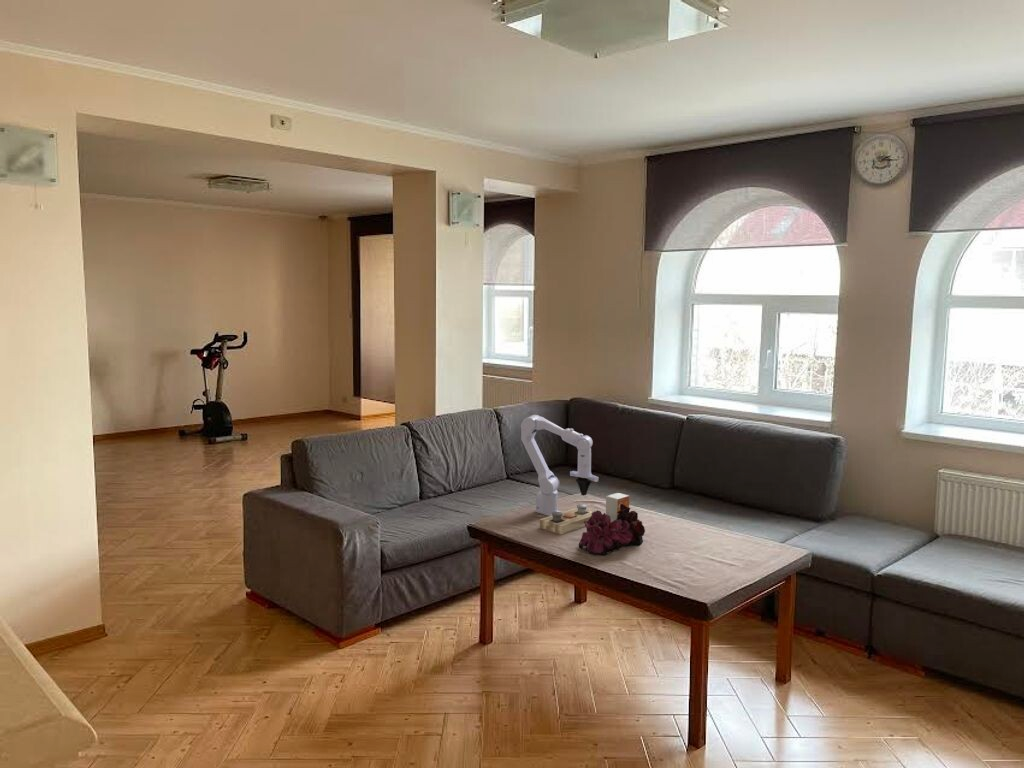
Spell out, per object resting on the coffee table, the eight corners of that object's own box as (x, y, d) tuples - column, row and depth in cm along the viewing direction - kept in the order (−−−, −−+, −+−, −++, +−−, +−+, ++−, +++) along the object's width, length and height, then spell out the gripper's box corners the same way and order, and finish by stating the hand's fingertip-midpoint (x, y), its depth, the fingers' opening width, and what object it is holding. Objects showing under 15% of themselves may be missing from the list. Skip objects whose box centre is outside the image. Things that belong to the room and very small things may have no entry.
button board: (539, 527, 308) (539, 519, 307) (577, 515, 324) (577, 507, 324) (561, 534, 299) (561, 526, 299) (598, 521, 316) (598, 513, 315)
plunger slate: (574, 513, 317) (574, 505, 316) (581, 511, 320) (581, 503, 320) (582, 515, 314) (582, 507, 313) (589, 513, 317) (589, 505, 316)
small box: (616, 529, 305) (617, 499, 303) (604, 526, 310) (605, 496, 308) (629, 525, 311) (629, 495, 309) (617, 522, 315) (617, 492, 314)
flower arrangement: (613, 530, 305) (613, 494, 303) (655, 540, 293) (656, 503, 291) (569, 550, 282) (569, 512, 280) (613, 562, 269) (614, 523, 267)
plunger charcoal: (549, 521, 306) (549, 513, 305) (556, 519, 309) (556, 511, 308) (557, 524, 303) (557, 515, 302) (564, 521, 306) (564, 513, 305)
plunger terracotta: (562, 522, 312) (562, 514, 311) (569, 520, 315) (569, 512, 314) (570, 525, 308) (570, 516, 308) (576, 522, 312) (577, 514, 311)
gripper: (603, 465, 316) (602, 496, 318) (577, 459, 327) (577, 489, 329) (592, 468, 312) (592, 499, 313) (567, 462, 322) (566, 492, 324)
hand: (583, 494), depth 321 cm, fingers closed
